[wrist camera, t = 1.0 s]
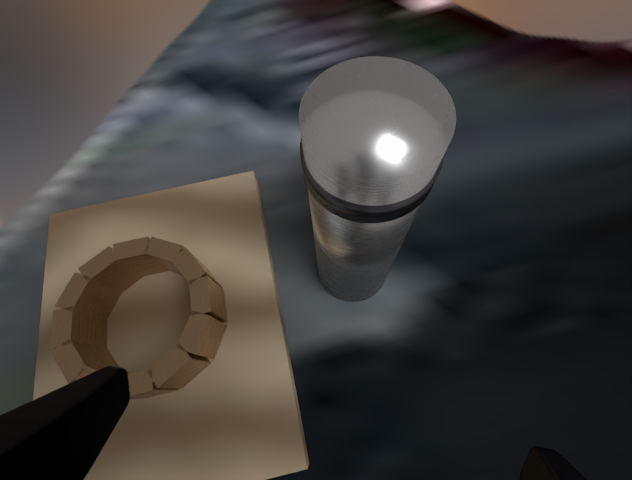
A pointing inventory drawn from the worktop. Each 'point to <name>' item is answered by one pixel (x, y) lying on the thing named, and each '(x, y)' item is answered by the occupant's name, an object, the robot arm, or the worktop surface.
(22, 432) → the robot arm
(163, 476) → the oak base board
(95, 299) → the wooden collar
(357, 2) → the worktop surface
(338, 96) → the steel tube
